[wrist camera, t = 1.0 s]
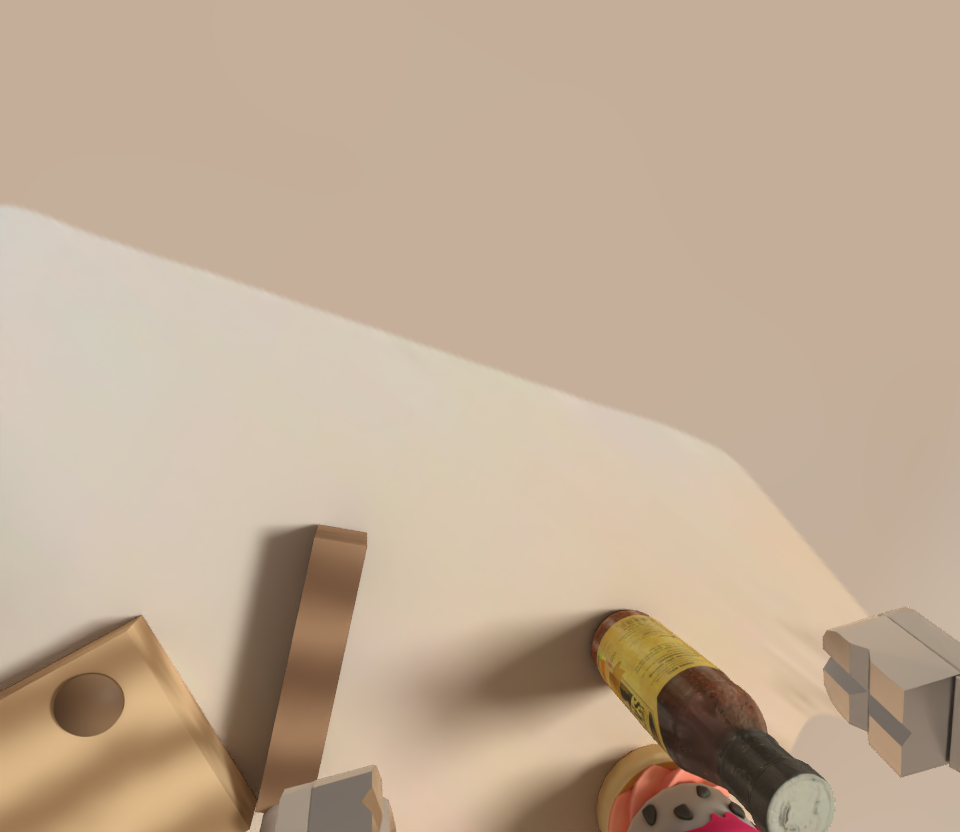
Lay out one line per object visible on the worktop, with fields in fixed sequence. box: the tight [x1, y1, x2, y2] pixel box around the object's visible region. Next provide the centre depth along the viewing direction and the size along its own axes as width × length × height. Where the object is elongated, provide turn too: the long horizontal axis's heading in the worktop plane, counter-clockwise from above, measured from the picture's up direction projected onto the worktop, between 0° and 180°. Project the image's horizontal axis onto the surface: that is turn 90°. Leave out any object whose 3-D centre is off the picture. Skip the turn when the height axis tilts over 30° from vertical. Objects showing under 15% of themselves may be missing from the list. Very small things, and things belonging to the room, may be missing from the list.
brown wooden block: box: [255, 525, 367, 832], centre depth 42 cm, size 20×4×5 cm, turn 168°
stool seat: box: [0, 615, 257, 832], centre depth 41 cm, size 16×18×3 cm
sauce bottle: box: [592, 610, 835, 832], centre depth 40 cm, size 7×6×20 cm
